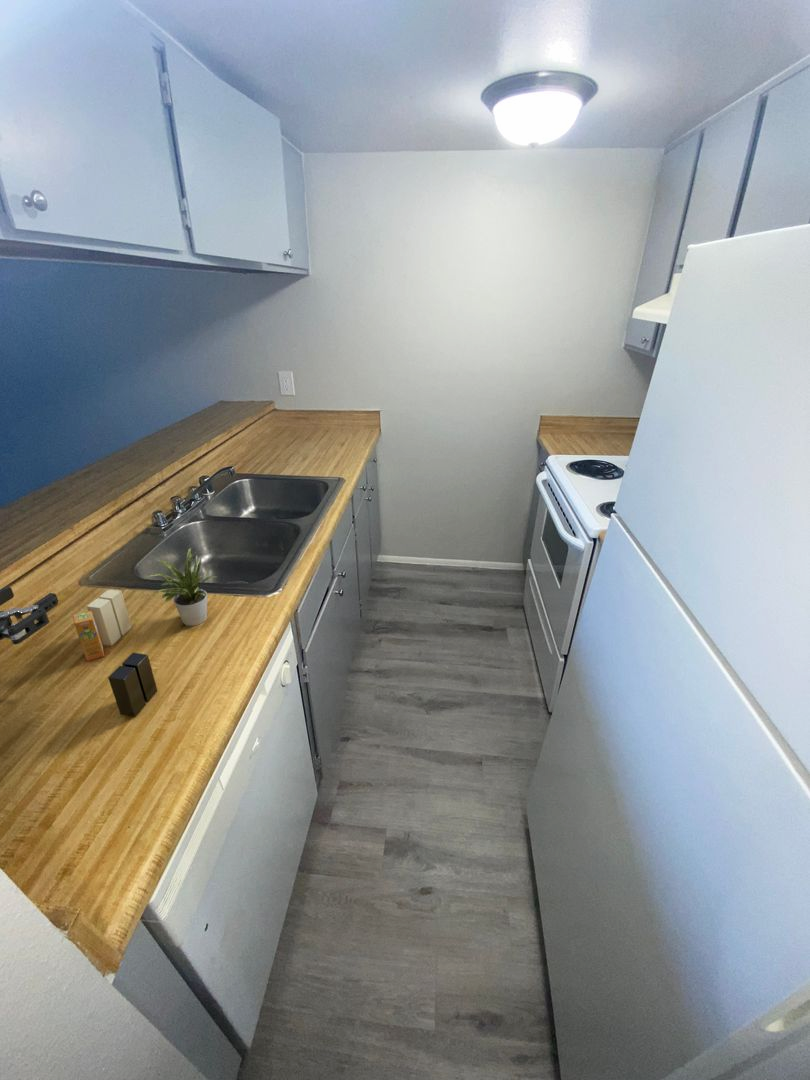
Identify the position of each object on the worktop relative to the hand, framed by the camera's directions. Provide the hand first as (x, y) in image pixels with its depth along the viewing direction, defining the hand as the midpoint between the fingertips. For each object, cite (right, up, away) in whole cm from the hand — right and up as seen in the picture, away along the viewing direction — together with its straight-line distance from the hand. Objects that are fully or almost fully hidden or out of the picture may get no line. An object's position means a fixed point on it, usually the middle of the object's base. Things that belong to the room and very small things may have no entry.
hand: (32, 594), depth 81 cm
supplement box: (-1, -15, +18) cm, 23 cm away
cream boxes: (0, -12, +23) cm, 26 cm away
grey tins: (+15, -21, +7) cm, 26 cm away
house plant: (+14, -9, +31) cm, 35 cm away
